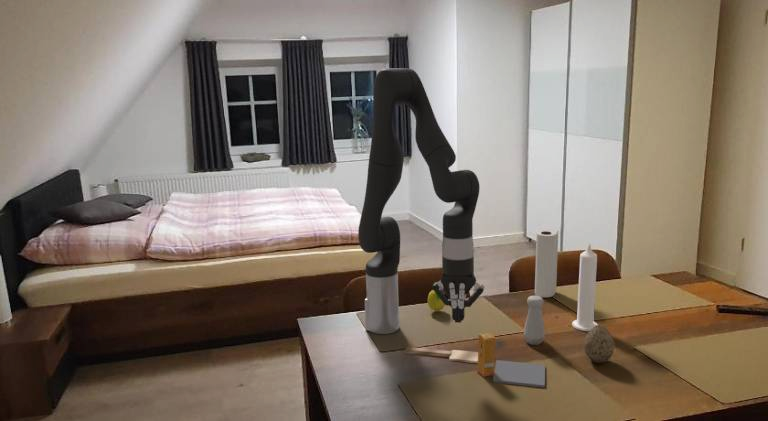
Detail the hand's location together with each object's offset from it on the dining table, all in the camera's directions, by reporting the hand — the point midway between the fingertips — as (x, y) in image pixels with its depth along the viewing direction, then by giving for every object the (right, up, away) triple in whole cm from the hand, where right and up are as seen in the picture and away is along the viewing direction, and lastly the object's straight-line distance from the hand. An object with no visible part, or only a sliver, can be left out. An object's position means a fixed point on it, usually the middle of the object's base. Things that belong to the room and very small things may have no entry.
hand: (458, 321), depth 142 cm
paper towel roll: (+35, -1, +50) cm, 61 cm away
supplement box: (+7, -13, +1) cm, 15 cm away
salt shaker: (+23, -9, +17) cm, 30 cm away
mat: (+15, -13, 0) cm, 20 cm away
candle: (+40, -7, +26) cm, 48 cm away
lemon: (-2, -5, +39) cm, 39 cm away
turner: (-3, -11, +11) cm, 16 cm away
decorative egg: (+36, -11, +5) cm, 38 cm away
